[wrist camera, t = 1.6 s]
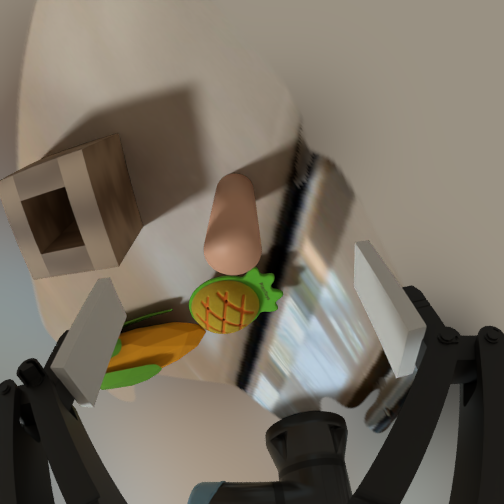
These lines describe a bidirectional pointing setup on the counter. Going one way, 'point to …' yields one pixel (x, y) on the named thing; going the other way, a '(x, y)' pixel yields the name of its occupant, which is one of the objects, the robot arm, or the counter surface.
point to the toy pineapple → (233, 301)
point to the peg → (233, 227)
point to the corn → (149, 350)
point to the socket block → (73, 209)
